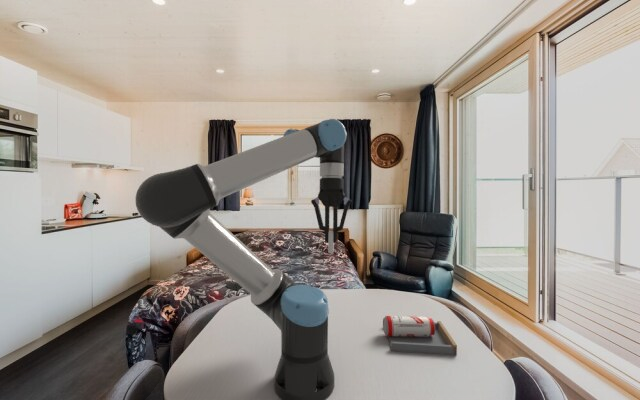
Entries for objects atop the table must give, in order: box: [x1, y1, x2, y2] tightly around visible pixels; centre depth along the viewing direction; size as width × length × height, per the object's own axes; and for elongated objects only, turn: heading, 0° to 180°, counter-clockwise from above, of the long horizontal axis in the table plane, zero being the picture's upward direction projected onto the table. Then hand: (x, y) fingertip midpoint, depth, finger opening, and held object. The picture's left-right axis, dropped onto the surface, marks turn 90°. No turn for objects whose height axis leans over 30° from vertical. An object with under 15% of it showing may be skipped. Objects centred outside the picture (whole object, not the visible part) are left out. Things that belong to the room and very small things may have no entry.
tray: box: [387, 320, 458, 356], centre depth 95 cm, size 16×19×3 cm
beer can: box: [382, 315, 435, 337], centre depth 96 cm, size 6×6×16 cm
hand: (331, 252), depth 91 cm, fingers closed
